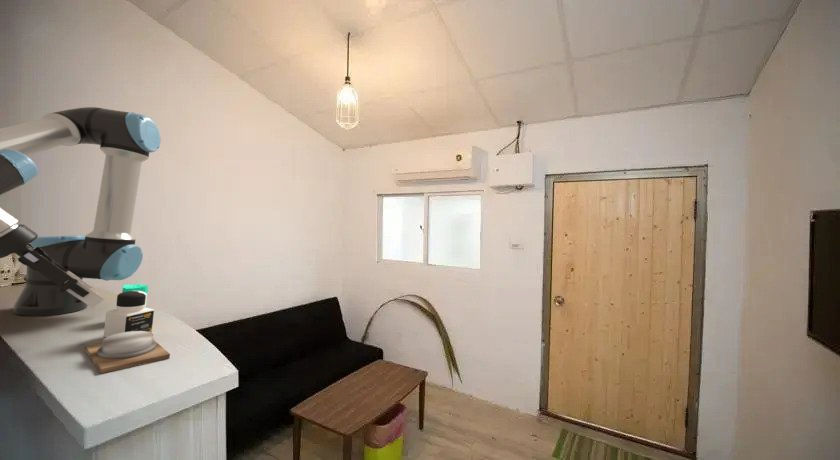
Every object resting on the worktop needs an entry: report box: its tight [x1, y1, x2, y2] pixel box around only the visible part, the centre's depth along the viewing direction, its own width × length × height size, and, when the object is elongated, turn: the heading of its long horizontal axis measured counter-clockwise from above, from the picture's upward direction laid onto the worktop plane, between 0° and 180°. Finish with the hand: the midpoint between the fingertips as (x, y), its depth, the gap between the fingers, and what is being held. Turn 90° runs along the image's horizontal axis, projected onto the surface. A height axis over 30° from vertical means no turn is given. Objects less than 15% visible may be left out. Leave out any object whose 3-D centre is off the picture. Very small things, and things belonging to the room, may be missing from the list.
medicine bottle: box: [103, 291, 155, 338], centre depth 86 cm, size 7×7×12 cm
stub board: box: [84, 331, 171, 374], centre depth 77 cm, size 16×12×4 cm
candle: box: [121, 281, 149, 308], centre depth 98 cm, size 6×6×12 cm
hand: (92, 296), depth 79 cm, fingers open, 13 cm apart
